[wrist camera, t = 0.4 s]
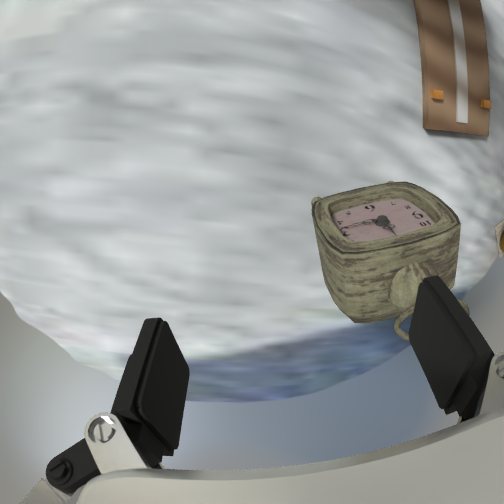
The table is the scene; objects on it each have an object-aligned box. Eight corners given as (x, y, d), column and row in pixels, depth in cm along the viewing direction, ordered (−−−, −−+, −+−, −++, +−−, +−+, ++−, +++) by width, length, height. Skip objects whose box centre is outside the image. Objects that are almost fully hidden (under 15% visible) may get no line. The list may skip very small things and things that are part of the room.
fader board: (403, -50, 21) (410, -55, 19) (467, -28, 20) (475, -31, 18) (422, 127, 34) (431, 130, 32) (482, 134, 34) (491, 137, 32)
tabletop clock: (399, 170, 38) (522, 268, 16) (402, 227, 42) (496, 346, 20) (299, 191, 40) (355, 325, 18) (311, 249, 44) (357, 398, 22)
